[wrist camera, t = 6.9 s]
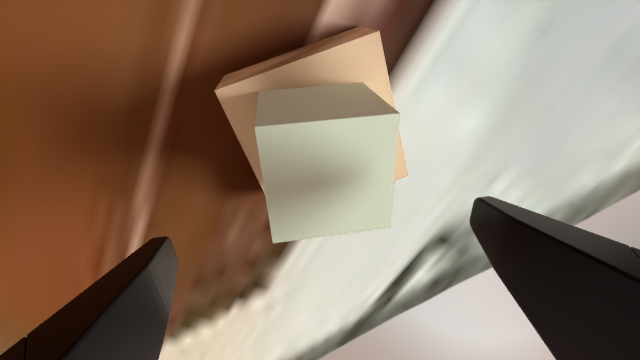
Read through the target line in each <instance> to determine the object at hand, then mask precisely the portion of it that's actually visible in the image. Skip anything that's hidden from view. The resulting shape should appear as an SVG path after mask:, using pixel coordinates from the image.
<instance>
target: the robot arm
mask: <svg viewBox="0 0 640 360" xmlns="http://www.w3.org/2000/svg"><path fill="white" fill-rule="evenodd" d="M470 226H471V228H472V230H473V232H474V234H475V236H476V238H477V239H478V241H479V243H480V245H481V247H482V249H483V250H484V252H485V254H486V256H487V258H488V260H489V261H490V263H491V265H492V267H493V268H494V270H495V271H496V273H497V274H498V276H499V277H500V279H501V280H502V282H503V283H504V285H505V286H506V287H507V289H508V291H509V292H510V293H511V295H512V296H513V298H514V299H515V301H516V302H517V303H518V305H519V307H520V308H521V309H522V311H523V312H524V314H525V315H526V317H527V318H528V320H529V321H530V322H531V324H532V325H533V327H534V328H535V330H536V331H537V333H538V334H539V336H540V337H541V339H542V340H543V341H544V343H545V344H546V346H547V347H548V349H549V350H550V351H551V353H552V354H553V356H554V357H555V359H556V360H640V250H639V249H637V248H634V247H629V246H628V245H625V244H623V243H619V242H617V241H614V240H611V239H609V238H606V237H603V236H600V235H597V234H594V233H591V232H589V231H586V230H583V229H580V228H578V227H575V226H572V225H569V224H566V223H564V222H561V221H558V220H555V219H552V218H550V217H547V216H544V215H541V214H538V213H536V212H533V211H530V210H527V209H524V208H522V207H519V206H516V205H513V204H510V203H508V202H505V201H502V200H499V199H496V198H494V197H490V196H486V197H478V198H476V199H475V200H474V203H473V207H472V212H471V216H470ZM177 269H178V260H177V256H176V253H175V251H174V248H173V245H172V242H171V240H170V238H169V237H167V236H164V237H156V238H152V239H150V240H149V241H148V242H146V243H145V244H144V245H143V246H141V247H140V248H139V249H137V250H136V251H135V252H134V253H132V254H131V255H130V256H128V257H127V258H126V259H124V260H123V261H122V262H121V263H119V264H118V265H117V266H115V267H114V268H113V269H112V270H110V271H109V272H108V273H106V274H105V275H104V276H102V277H101V278H100V279H99V280H97V281H96V282H95V283H93V284H92V285H91V286H90V287H88V288H87V289H86V290H84V291H83V292H82V293H80V294H79V295H78V296H77V297H75V298H74V299H73V300H71V301H70V302H69V303H67V304H66V305H65V306H64V307H62V308H61V309H60V310H58V311H57V312H56V313H55V314H53V315H52V316H51V317H49V318H48V319H47V320H45V321H44V322H43V323H42V324H40V325H39V326H38V327H36V328H35V329H34V330H32V331H31V332H30V333H29V334H28V335H27V338H26V337H24V338H22V339H21V340H19V341H18V342H17V343H16V344H14V345H13V346H12V347H10V348H9V349H8V350H7V351H5V352H4V353H3V354H1V355H0V360H158V359H159V355H160V351H161V348H162V344H163V341H164V337H165V334H166V330H167V326H168V322H169V318H170V313H171V308H172V301H173V295H174V289H175V282H176V276H177Z"/></svg>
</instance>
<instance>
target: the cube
mask: <svg viewBox="0 0 640 360" xmlns="http://www.w3.org/2000/svg"><path fill="white" fill-rule="evenodd" d="M399 118H400V113H399V112H398V111H396V110H395V109H394V108H393V107H392V106H390V105H389V104H388V103H387V102H386V101H384V100H383V99H382V98H381V97H380V96H378V95H377V94H376V93H375V92H374V91H372V90H371V89H370V88H369V87H368V86H366V85H365V84H364V83H363V82H362V83H350V84H338V85H326V86H314V87H302V88H290V89H278V90H266V91H259V93H258V101H257V110H256V119H255V133H256V140H257V146H258V152H259V158H260V165H261V171H262V177H263V184H264V190H265V196H266V203H267V209H268V215H269V221H270V228H271V234H272V240H273V243H278V242H286V241H294V240H301V239H309V238H317V237H324V236H332V235H339V234H347V233H355V232H362V231H370V230H378V229H385V228H391V221H392V208H393V195H394V182H395V169H396V156H397V143H398V131H399Z"/></svg>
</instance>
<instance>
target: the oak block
mask: <svg viewBox="0 0 640 360" xmlns="http://www.w3.org/2000/svg"><path fill="white" fill-rule="evenodd" d="M362 82H363V83H364V84H365V85H366V86H368V87H369V88H370V89H371V90H372V91H374V92H375V93H376V94H377V95H378V96H380V97H381V98H382V99H383V100H384V101H386V102H387V103H388V104H389V105H390V106H392V107H393V108H394V109H395V107H394V102H393V97H392V92H391V87H390V82H389V77H388V72H387V67H386V62H385V57H384V52H383V47H382V42H381V37H380V32H379V31H378V30H374V29H369V28H365V27H360V26H359V27H356V28H354V29H351V30H348V31H345V32H343V33H340V34H337V35H334V36H332V37H329V38H326V39H323V40H321V41H318V42H315V43H312V44H310V45H307V46H304V47H301V48H299V49H296V50H293V51H290V52H288V53H285V54H282V55H279V56H277V57H274V58H271V59H268V60H266V61H263V62H260V63H258V64H255V65H252V66H249V67H247V68H244V69H241V70H238V71H236V72H233V73H230V74H227V75H225V76H224V77H223V78H222V80H221V81H220V83H219V84H218V86H217V87H216V89H215V90H214V91H215V93H216V95H217V97H218V99H219V101H220V103H221V105H222V107H223V109H224V111H225V114H226V116H227V118H228V120H229V122H230V124H231V126H232V128H233V130H234V132H235V134H236V136H237V138H238V140H239V142H240V144H241V146H242V148H243V150H244V152H245V154H246V156H247V158H248V161H249V163H250V165H251V167H252V169H253V171H254V173H255V175H256V177H257V179H258V181H259V183H260V185H261V187H262V189H263V191H264V193H265V190H264V184H263V177H262V171H261V165H260V158H259V152H258V146H257V140H256V133H255V119H256V110H257V101H258V93H259V91H266V90H278V89H290V88H302V87H314V86H326V85H338V84H350V83H362ZM407 176H408V173H407V168H406V163H405V158H404V153H403V148H402V143H401V138H400V133H399V131H398V143H397V156H396V169H395V180H398V179H401V178H404V177H407Z"/></svg>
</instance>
